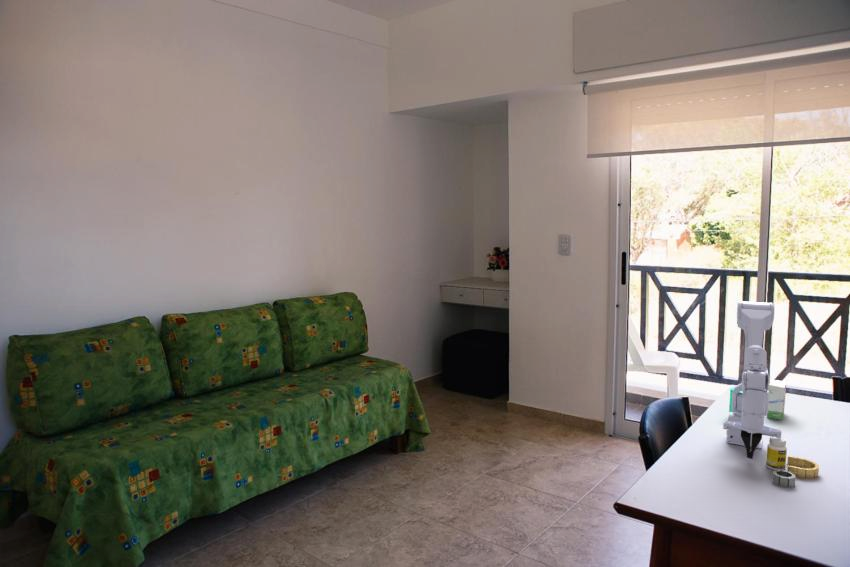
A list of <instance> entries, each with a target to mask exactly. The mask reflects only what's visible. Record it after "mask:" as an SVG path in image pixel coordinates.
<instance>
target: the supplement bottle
mask: <svg viewBox="0 0 850 567" xmlns="http://www.w3.org/2000/svg"><path fill="white" fill-rule="evenodd" d="M768 441H769V443H768V444H767V447H766V448H767V450H766V459H765V465H766V467H767V468H769V469H770V470H772V471H774V470H785V469H786V465H787V452H788V451H787V450H788V448H787V440H786V438H784V437H781V439H779V438H776V437H772V436H769V440H768Z"/></svg>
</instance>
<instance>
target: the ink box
mask: <svg viewBox="0 0 850 567" xmlns="http://www.w3.org/2000/svg"><path fill="white" fill-rule="evenodd" d="M767 392H768V400H769V406H768V414H767V415H766V418H767V417H768V418H769V419H773V418H774V419H775V420H781V421H782V420H783V418H784V415H785V414H784V413H785V404H786V392H787V381H784V380H778V379H770V380H769V387H768V391H767ZM774 419H773V420H774Z"/></svg>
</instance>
